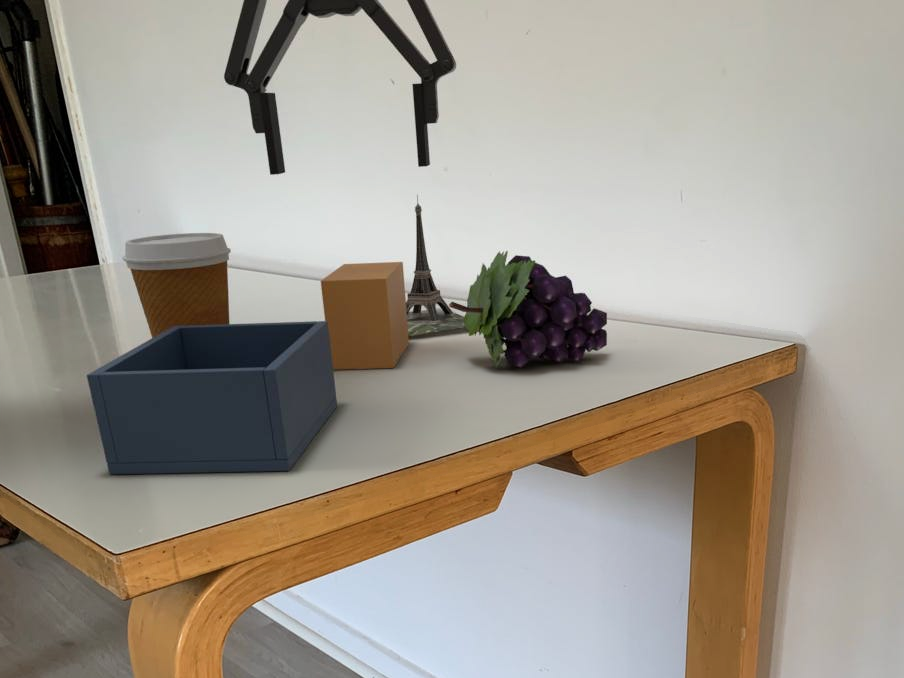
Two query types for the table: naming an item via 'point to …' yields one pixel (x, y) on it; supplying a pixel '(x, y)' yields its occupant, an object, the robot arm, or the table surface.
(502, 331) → the fruit
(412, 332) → the eiffel tower figurine
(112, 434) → the compartment
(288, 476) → the table surface
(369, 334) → the tan cardboard-coloured block
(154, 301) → the disposable coffee cup
